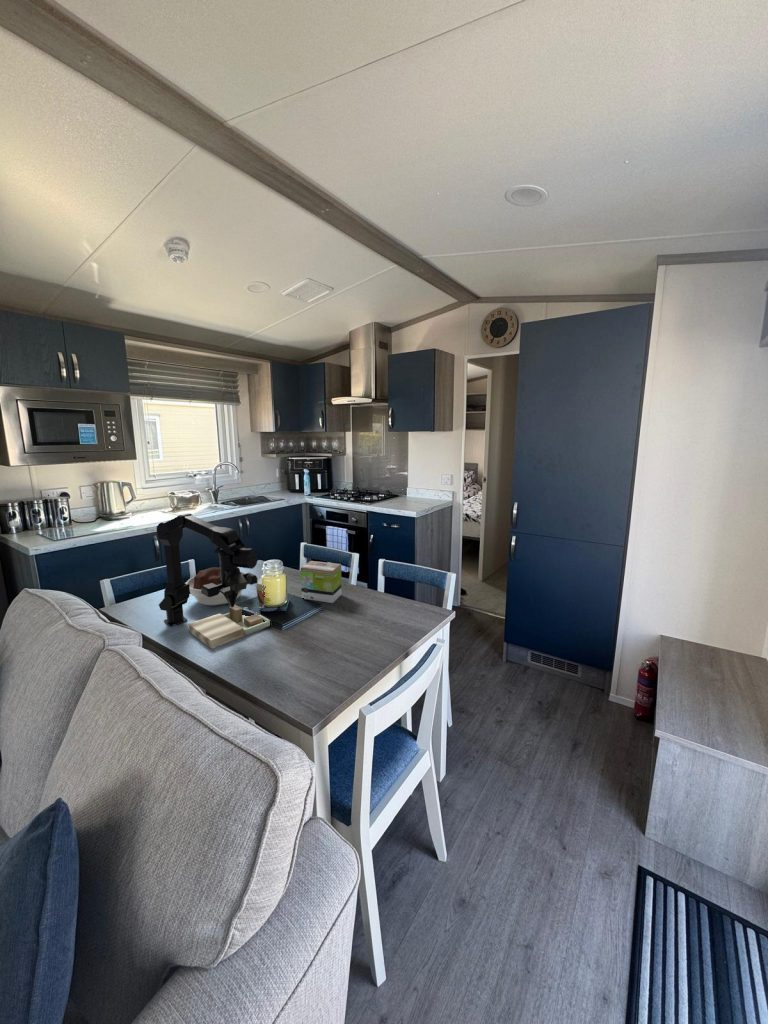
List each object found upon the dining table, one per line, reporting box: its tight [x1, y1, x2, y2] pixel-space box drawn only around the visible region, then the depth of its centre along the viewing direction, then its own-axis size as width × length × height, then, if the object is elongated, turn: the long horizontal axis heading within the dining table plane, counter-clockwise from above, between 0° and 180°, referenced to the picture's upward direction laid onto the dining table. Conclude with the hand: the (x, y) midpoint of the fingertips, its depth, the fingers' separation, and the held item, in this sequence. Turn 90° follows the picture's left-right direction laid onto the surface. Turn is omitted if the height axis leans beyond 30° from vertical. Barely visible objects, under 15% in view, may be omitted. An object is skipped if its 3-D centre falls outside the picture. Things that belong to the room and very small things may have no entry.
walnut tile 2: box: [244, 614, 263, 627], centre depth 160 cm, size 5×5×2 cm
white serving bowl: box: [185, 566, 247, 606], centre depth 182 cm, size 25×25×15 cm
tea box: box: [300, 560, 342, 604], centre depth 185 cm, size 15×10×15 cm, turn 73°
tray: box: [222, 606, 272, 637], centre depth 162 cm, size 18×11×2 cm, turn 47°
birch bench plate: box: [187, 613, 245, 649], centre depth 154 cm, size 18×12×3 cm, turn 47°
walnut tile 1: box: [228, 604, 243, 623], centre depth 164 cm, size 5×5×2 cm
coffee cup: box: [255, 577, 266, 607], centre depth 174 cm, size 9×9×12 cm
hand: (232, 606), depth 153 cm, fingers closed
